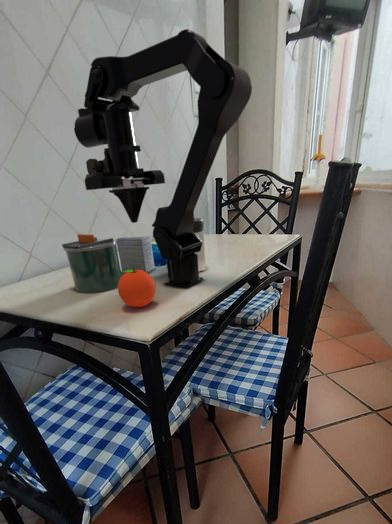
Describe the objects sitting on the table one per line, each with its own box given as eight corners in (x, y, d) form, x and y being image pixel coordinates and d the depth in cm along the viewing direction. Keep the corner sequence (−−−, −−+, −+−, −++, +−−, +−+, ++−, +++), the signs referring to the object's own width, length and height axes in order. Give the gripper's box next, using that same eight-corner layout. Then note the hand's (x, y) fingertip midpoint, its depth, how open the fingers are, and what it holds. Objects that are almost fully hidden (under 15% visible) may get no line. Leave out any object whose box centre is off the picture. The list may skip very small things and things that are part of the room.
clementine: (109, 312, 58) (101, 274, 55) (126, 299, 64) (120, 264, 60) (149, 313, 56) (143, 274, 52) (163, 300, 62) (158, 264, 58)
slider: (96, 244, 68) (94, 234, 67) (76, 248, 65) (73, 238, 64) (83, 243, 71) (80, 233, 70) (62, 247, 67) (60, 237, 66)
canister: (134, 281, 75) (126, 237, 70) (95, 296, 67) (83, 247, 62) (103, 276, 82) (94, 235, 77) (64, 289, 74) (51, 244, 69)
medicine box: (155, 269, 84) (150, 235, 80) (146, 273, 81) (141, 238, 77) (131, 268, 87) (125, 235, 83) (121, 272, 84) (115, 238, 80)
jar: (183, 275, 76) (178, 223, 71) (167, 270, 83) (162, 221, 77) (213, 268, 81) (211, 218, 75) (195, 263, 87) (192, 217, 81)
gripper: (126, 147, 75) (137, 217, 82) (58, 145, 62) (78, 228, 69) (161, 141, 69) (170, 217, 76) (94, 136, 56) (112, 228, 63)
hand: (134, 222), depth 72 cm, fingers closed
